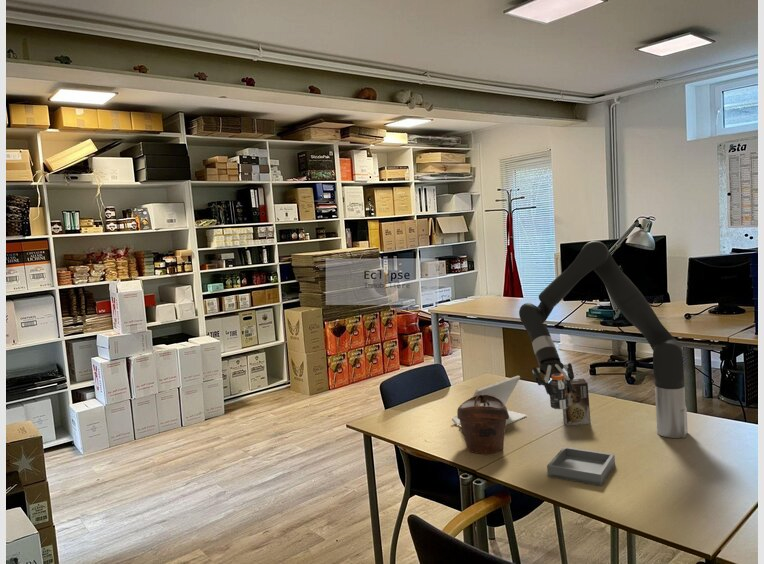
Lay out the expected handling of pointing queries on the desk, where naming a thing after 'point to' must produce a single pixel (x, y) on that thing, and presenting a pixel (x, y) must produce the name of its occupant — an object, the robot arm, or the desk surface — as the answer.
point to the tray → (581, 465)
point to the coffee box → (577, 404)
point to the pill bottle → (559, 392)
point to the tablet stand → (499, 396)
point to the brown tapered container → (483, 423)
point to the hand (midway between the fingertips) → (560, 393)
